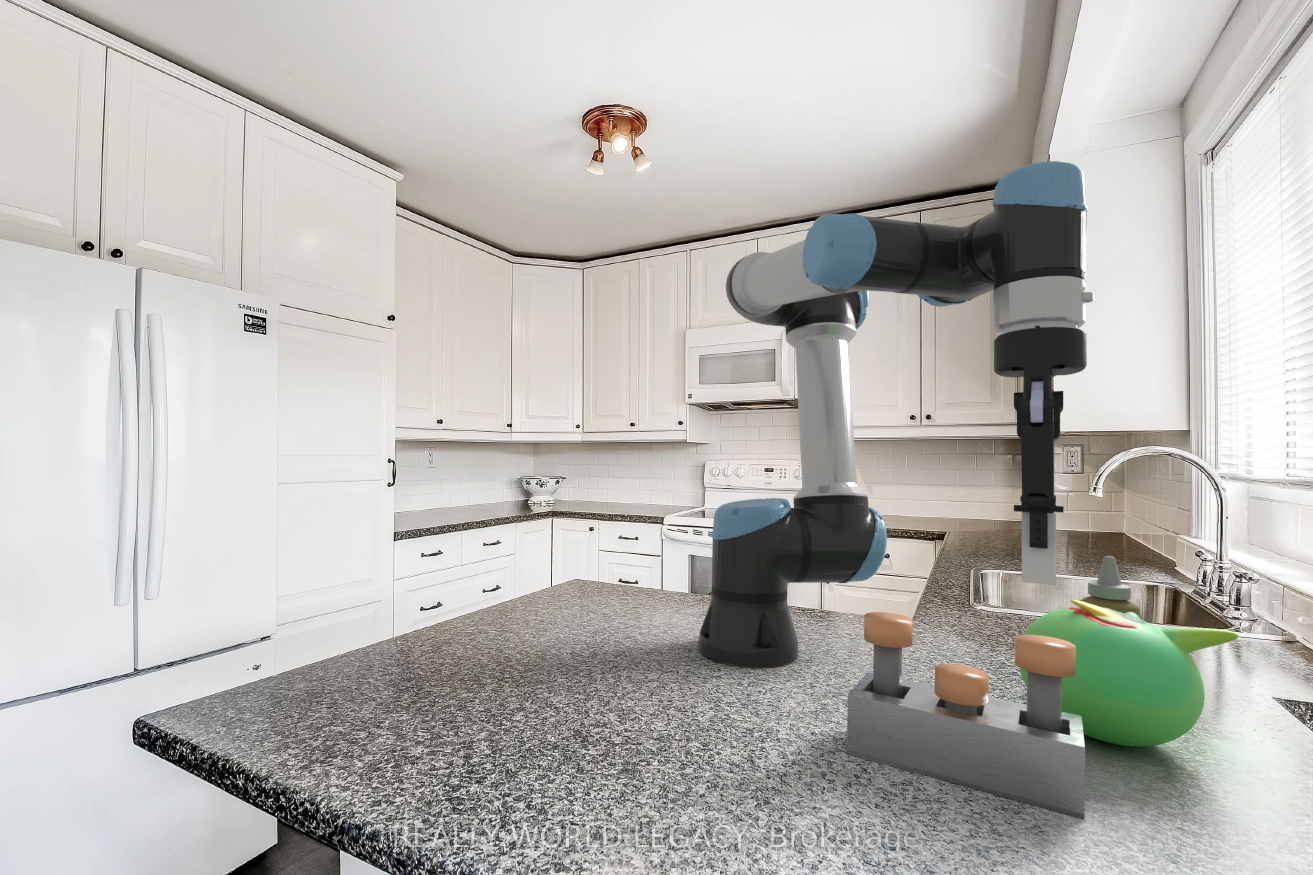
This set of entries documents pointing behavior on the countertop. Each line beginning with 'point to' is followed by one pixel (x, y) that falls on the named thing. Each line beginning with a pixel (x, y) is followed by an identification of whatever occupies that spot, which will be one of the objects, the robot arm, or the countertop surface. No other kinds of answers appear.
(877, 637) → the knob
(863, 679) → the mount
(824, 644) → the countertop surface
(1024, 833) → the countertop surface
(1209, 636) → the toy bird
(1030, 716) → the knob
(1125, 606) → the squeeze bottle
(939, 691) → the knob middle
